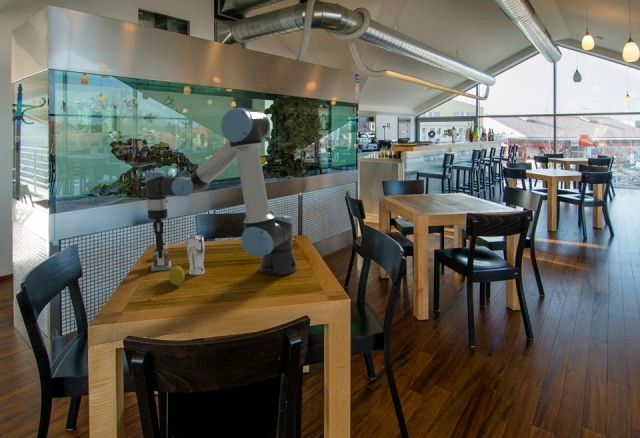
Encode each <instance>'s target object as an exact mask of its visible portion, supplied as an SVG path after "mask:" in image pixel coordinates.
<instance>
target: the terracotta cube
mask: <svg viewBox="0 0 640 438" xmlns="http://www.w3.org/2000/svg"><path fill="white" fill-rule="evenodd" d="M163 246H164V250H168V251H169V246H168V245H163ZM168 257H169V258H170V255H169V253H168Z"/></svg>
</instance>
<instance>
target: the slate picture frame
mask: <svg viewBox="0 0 640 438" xmlns="http://www.w3.org/2000/svg"><path fill="white" fill-rule="evenodd" d="M150 264H151V266H150V272H156V271H157V272H158V271H166V270H167V271H168V270H169V271H170V269H171V268H172V267H173V266H172V260H169V265H166V266H156V267H154V265H153V262H151V263H150Z"/></svg>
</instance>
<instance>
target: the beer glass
mask: <svg viewBox="0 0 640 438" xmlns="http://www.w3.org/2000/svg"><path fill="white" fill-rule="evenodd" d="M205 249H206V248H205V237H204V235H200V234H195V235H194V234H193V235H188V236H186V253H187V258H188V262H189V271H188V274H189V275H190V276H200V275H204V274H205V273H206V272H205V271H206V270H205V265H204V262H205V261H204V259H205V251H206V250H205Z"/></svg>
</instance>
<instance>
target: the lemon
mask: <svg viewBox="0 0 640 438" xmlns="http://www.w3.org/2000/svg"><path fill="white" fill-rule="evenodd" d="M185 277H186V275H185V270H184V269H183V268H182V266H179V265H174V266H172V268H171V269H169V271H168V279H169V282H170V283H171V284H172V285H174V286H175V287H178V286H179V285H181V284H182V283H184V281H185Z"/></svg>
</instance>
